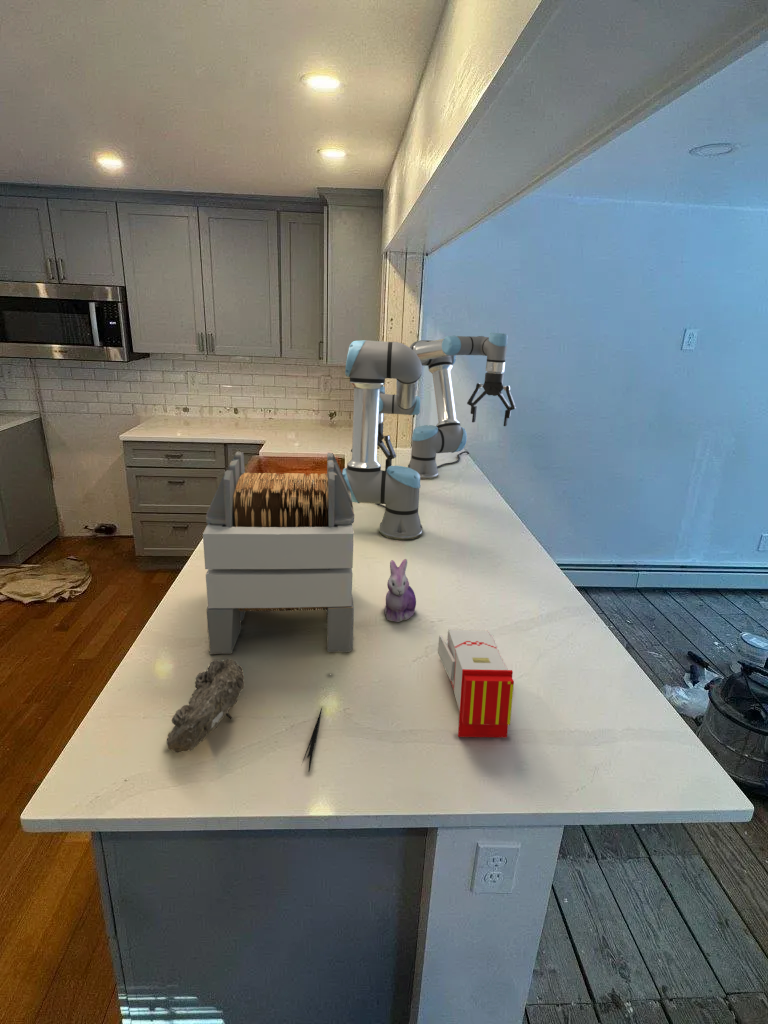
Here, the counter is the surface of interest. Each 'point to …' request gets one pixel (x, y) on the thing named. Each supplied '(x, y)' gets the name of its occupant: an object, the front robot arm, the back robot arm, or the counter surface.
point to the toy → (478, 682)
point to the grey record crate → (279, 550)
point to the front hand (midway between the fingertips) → (372, 471)
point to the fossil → (206, 705)
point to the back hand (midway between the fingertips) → (489, 423)
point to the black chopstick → (313, 740)
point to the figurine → (399, 594)
